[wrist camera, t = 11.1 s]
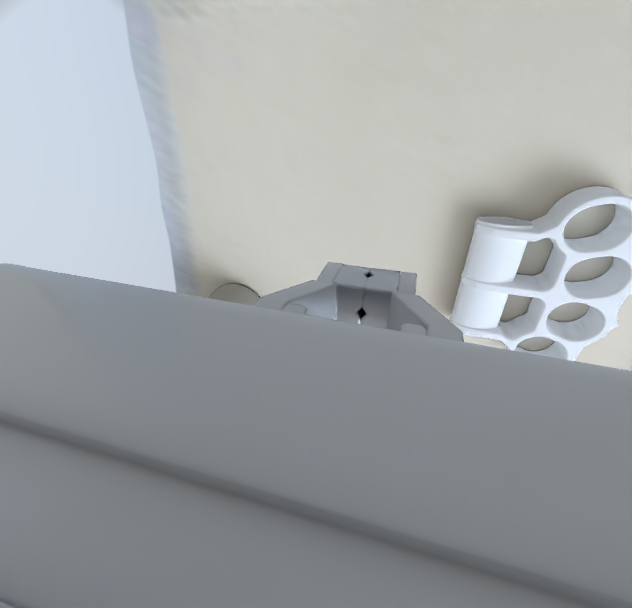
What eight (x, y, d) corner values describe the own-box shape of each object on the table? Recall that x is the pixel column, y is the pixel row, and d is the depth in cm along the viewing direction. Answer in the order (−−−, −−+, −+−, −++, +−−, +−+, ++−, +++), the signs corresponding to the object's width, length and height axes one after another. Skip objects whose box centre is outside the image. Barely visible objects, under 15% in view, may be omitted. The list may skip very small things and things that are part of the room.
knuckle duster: (484, 177, 30) (683, 191, 27) (442, 340, 40) (586, 365, 36) (490, 185, 28) (712, 202, 24) (443, 358, 37) (598, 387, 34)
